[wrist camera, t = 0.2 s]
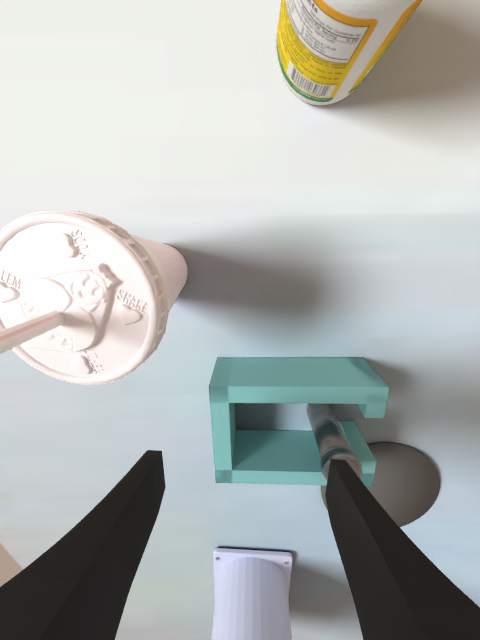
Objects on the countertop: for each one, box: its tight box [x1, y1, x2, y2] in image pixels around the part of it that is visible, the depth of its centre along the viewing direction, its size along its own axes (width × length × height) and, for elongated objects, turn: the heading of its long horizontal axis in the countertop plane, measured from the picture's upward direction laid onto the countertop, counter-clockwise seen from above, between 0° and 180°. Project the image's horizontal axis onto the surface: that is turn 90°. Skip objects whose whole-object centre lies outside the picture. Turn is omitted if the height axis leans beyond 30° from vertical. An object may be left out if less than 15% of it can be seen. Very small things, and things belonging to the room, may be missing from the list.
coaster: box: [321, 442, 440, 527], centre depth 23 cm, size 10×10×1 cm
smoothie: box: [0, 211, 188, 385], centre depth 12 cm, size 6×6×14 cm
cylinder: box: [307, 403, 363, 481], centre depth 18 cm, size 2×2×7 cm
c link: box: [209, 357, 389, 487], centre depth 19 cm, size 8×11×4 cm
